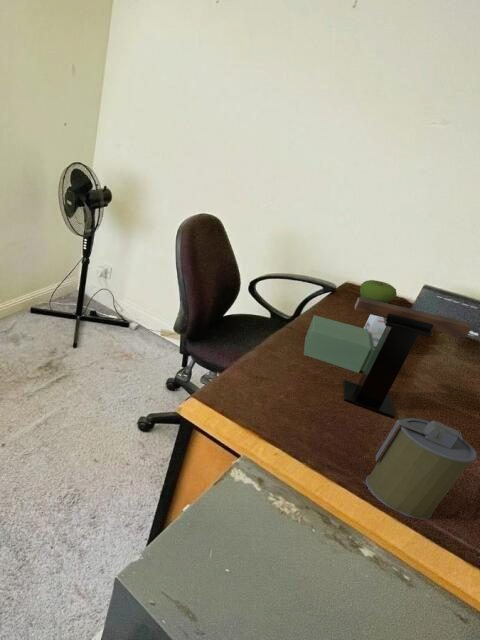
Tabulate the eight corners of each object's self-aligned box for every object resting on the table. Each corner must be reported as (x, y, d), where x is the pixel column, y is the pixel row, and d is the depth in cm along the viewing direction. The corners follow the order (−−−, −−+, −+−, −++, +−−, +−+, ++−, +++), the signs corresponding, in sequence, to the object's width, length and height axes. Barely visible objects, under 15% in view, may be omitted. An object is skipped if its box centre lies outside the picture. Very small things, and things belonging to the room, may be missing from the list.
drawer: (380, 359, 130) (390, 339, 127) (383, 377, 122) (394, 356, 118) (313, 339, 139) (321, 320, 136) (312, 355, 131) (321, 335, 128)
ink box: (390, 347, 137) (406, 317, 133) (395, 354, 133) (412, 324, 129) (357, 338, 141) (372, 309, 136) (361, 346, 137) (376, 316, 133)
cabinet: (356, 354, 134) (368, 329, 130) (358, 373, 125) (370, 347, 121) (304, 338, 141) (314, 315, 138) (303, 356, 132) (312, 331, 129)
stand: (389, 398, 115) (433, 314, 104) (393, 419, 108) (441, 331, 97) (342, 383, 121) (380, 302, 110) (343, 401, 114) (384, 317, 103)
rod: (462, 332, 99) (469, 322, 98) (465, 338, 97) (472, 327, 96) (354, 306, 111) (358, 296, 110) (354, 310, 109) (359, 300, 107)
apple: (371, 310, 159) (383, 288, 155) (346, 297, 169) (356, 276, 165) (396, 310, 160) (408, 288, 156) (370, 296, 170) (381, 275, 166)
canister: (429, 495, 88) (479, 427, 80) (435, 532, 81) (490, 461, 72) (362, 465, 94) (402, 399, 86) (362, 496, 87) (406, 428, 79)
